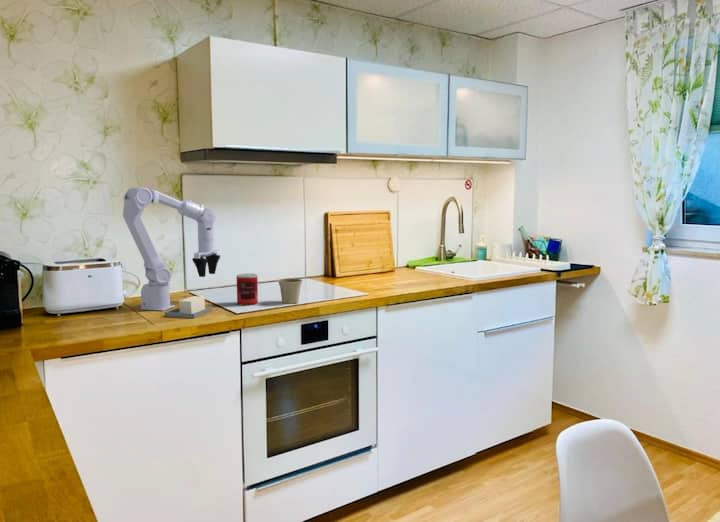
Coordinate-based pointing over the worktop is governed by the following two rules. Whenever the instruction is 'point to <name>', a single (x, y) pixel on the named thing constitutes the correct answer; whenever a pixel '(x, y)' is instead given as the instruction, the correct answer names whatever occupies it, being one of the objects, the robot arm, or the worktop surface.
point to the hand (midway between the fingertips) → (207, 275)
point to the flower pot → (290, 290)
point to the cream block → (192, 304)
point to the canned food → (247, 289)
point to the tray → (186, 315)
